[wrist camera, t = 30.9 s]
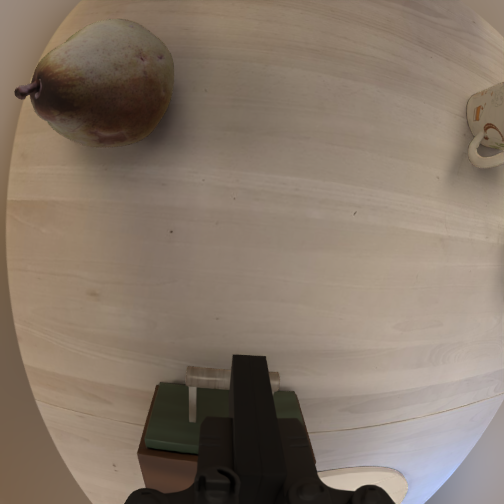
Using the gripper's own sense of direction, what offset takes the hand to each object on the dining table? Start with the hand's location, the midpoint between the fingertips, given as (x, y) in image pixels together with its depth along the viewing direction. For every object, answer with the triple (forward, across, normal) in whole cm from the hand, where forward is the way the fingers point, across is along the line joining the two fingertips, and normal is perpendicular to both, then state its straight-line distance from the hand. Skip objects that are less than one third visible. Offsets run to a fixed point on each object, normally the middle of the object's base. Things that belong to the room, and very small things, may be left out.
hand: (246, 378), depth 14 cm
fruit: (+13, -11, +15) cm, 23 cm away
